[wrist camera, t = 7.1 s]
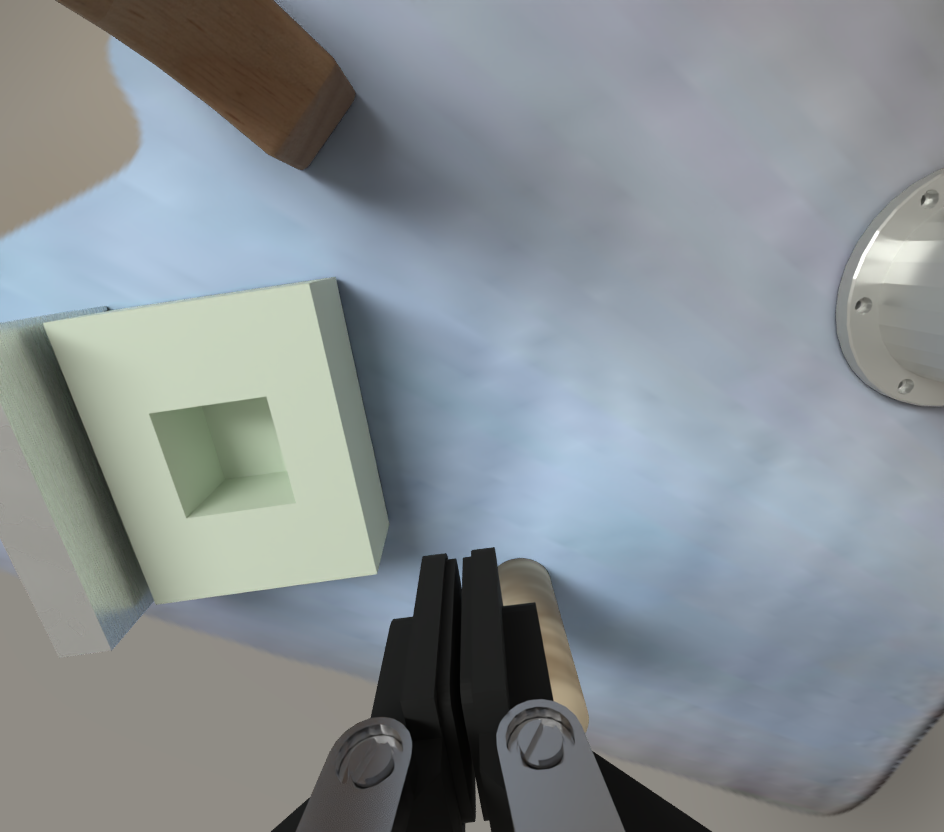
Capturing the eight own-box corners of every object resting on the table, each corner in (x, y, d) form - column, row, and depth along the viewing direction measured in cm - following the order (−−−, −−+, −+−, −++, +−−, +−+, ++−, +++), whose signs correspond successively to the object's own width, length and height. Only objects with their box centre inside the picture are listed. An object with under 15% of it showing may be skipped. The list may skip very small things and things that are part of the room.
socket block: (335, 276, 26) (308, 283, 22) (389, 523, 31) (377, 574, 26) (116, 309, 27) (42, 323, 22) (201, 550, 31) (155, 604, 26)
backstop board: (106, 305, 27) (-33, 328, 19) (195, 553, 31) (111, 650, 24) (59, 312, 27) (-99, 338, 19) (155, 558, 31) (58, 657, 24)
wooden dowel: (547, 554, 32) (585, 682, 23) (553, 606, 33) (591, 749, 24) (484, 563, 32) (495, 694, 23) (492, 615, 33) (506, 760, 24)
